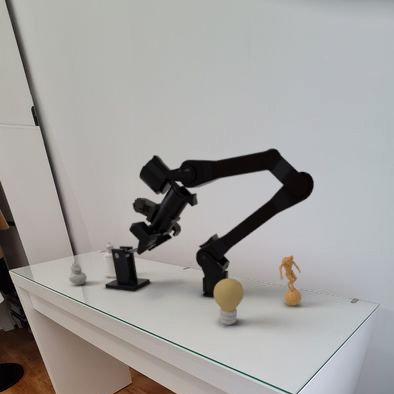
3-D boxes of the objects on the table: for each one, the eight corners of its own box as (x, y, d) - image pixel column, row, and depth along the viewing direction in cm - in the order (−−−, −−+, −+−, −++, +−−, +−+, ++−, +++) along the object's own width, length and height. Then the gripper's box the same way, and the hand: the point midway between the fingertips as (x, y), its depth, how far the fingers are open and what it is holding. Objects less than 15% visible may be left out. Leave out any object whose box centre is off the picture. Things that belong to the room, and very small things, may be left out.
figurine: (289, 311, 69) (296, 260, 63) (269, 305, 73) (273, 257, 66) (307, 302, 73) (315, 254, 67) (287, 297, 77) (292, 251, 71)
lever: (153, 248, 85) (151, 240, 84) (144, 252, 81) (141, 243, 80) (125, 256, 91) (123, 249, 90) (116, 260, 87) (112, 252, 86)
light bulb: (224, 314, 69) (224, 273, 64) (247, 321, 65) (249, 277, 60) (208, 324, 64) (207, 280, 59) (232, 331, 61) (233, 285, 56)
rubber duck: (75, 287, 93) (69, 262, 89) (67, 284, 97) (60, 260, 93) (91, 283, 96) (85, 259, 92) (82, 280, 100) (76, 257, 96)
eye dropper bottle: (114, 279, 99) (107, 243, 93) (105, 276, 103) (98, 241, 97) (124, 276, 102) (118, 241, 96) (116, 274, 106) (109, 239, 99)
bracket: (150, 282, 94) (145, 245, 88) (134, 291, 87) (128, 251, 81) (122, 280, 98) (116, 244, 92) (105, 288, 91) (97, 249, 85)
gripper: (166, 184, 81) (141, 227, 91) (127, 185, 67) (102, 237, 76) (194, 213, 82) (166, 252, 92) (161, 220, 67) (132, 267, 77)
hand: (143, 251), depth 84 cm, fingers closed on lever, 5 cm apart
